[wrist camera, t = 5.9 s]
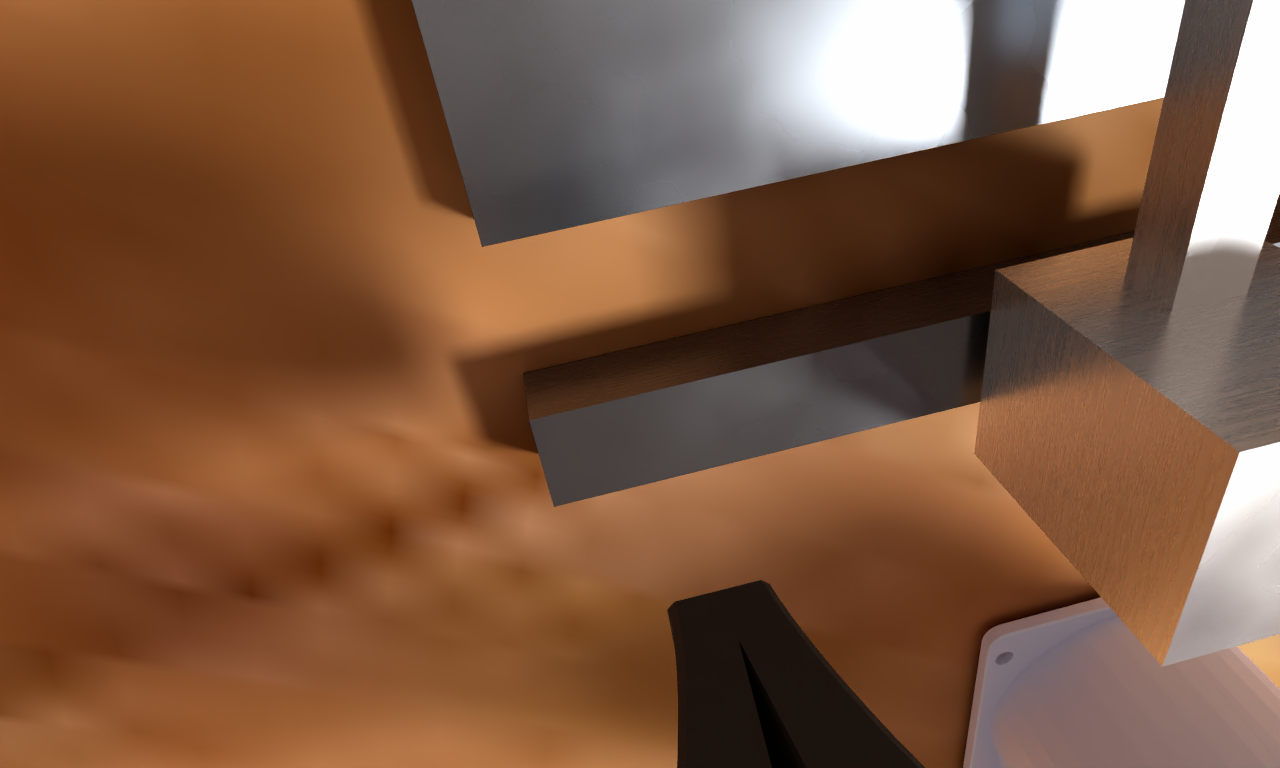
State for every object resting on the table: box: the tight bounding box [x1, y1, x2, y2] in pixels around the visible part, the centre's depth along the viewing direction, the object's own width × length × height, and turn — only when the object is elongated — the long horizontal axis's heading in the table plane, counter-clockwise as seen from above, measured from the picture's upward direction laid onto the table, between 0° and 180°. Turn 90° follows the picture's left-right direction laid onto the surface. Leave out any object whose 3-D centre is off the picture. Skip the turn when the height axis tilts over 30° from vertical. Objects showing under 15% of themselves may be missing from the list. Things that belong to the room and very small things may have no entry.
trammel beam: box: [523, 198, 1280, 507], centre depth 16 cm, size 2×24×2 cm, turn 99°
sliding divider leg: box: [974, 0, 1280, 667], centre depth 11 cm, size 11×4×5 cm, turn 9°
